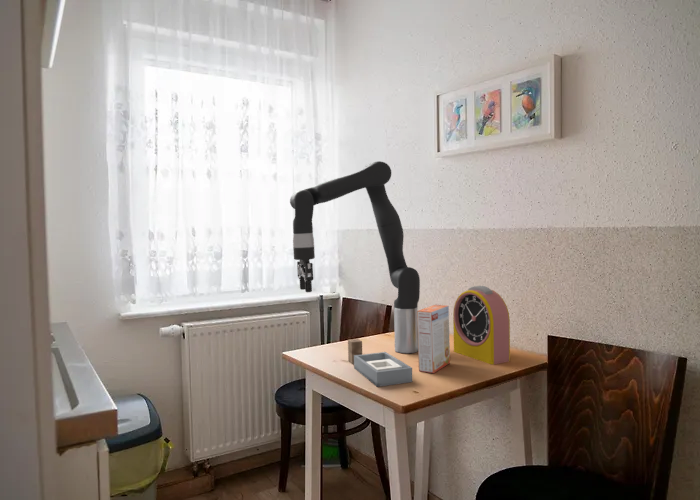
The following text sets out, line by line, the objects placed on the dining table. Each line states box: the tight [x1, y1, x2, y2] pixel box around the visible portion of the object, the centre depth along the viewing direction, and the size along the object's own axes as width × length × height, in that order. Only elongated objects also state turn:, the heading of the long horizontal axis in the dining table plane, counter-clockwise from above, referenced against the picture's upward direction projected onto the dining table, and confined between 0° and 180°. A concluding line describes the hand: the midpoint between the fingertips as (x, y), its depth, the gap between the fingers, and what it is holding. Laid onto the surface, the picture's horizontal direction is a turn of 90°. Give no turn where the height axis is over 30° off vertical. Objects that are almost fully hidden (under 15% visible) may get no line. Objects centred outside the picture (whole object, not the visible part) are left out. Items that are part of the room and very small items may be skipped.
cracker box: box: [417, 304, 451, 374], centre depth 163 cm, size 14×6×21 cm, turn 145°
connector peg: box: [347, 338, 363, 365], centre depth 171 cm, size 4×4×8 cm
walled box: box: [353, 351, 413, 388], centre depth 156 cm, size 12×21×4 cm, turn 19°
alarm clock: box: [452, 285, 511, 365], centre depth 176 cm, size 21×9×26 cm, turn 27°
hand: (305, 290), depth 170 cm, fingers open, 8 cm apart
